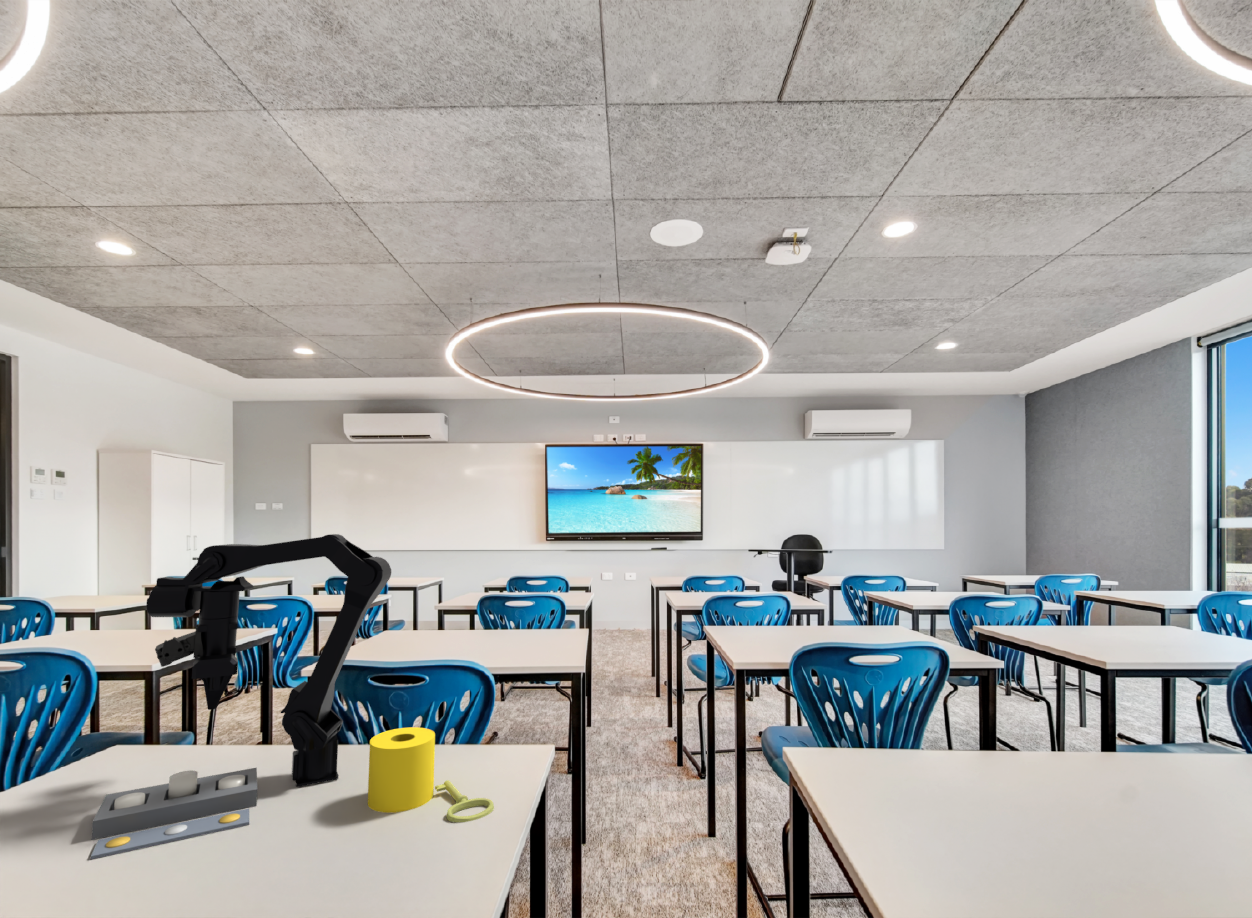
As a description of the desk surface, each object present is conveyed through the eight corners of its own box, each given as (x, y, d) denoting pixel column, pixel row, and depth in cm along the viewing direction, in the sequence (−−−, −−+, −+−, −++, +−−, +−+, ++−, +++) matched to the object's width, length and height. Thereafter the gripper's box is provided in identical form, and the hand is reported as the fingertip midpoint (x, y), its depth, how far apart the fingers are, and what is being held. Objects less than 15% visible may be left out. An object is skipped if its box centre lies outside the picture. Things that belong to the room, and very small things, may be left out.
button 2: (244, 791, 102) (245, 772, 103) (243, 800, 99) (245, 780, 100) (218, 797, 101) (219, 777, 101) (217, 805, 97) (218, 785, 98)
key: (447, 791, 103) (447, 778, 104) (499, 811, 97) (500, 797, 97) (410, 808, 97) (411, 794, 98) (464, 830, 91) (464, 815, 91)
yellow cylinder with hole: (353, 806, 97) (355, 743, 98) (398, 781, 107) (400, 724, 108) (403, 817, 94) (405, 752, 95) (446, 790, 103) (447, 731, 104)
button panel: (255, 782, 106) (256, 767, 106) (256, 805, 98) (257, 789, 98) (105, 811, 96) (106, 794, 96) (91, 839, 87) (92, 821, 87)
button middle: (197, 788, 99) (198, 768, 100) (195, 796, 96) (196, 776, 96) (169, 793, 97) (170, 773, 98) (166, 802, 94) (168, 781, 95)
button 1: (145, 810, 96) (146, 790, 96) (141, 820, 93) (143, 799, 93) (115, 816, 94) (116, 795, 94) (110, 826, 91) (112, 805, 91)
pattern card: (249, 811, 96) (249, 806, 96) (249, 824, 91) (249, 820, 92) (98, 842, 86) (98, 838, 86) (90, 859, 82) (90, 854, 82)
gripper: (165, 613, 112) (157, 702, 110) (156, 628, 96) (147, 733, 95) (238, 608, 118) (231, 693, 116) (240, 623, 102) (233, 721, 101)
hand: (211, 709), depth 107 cm, fingers closed
